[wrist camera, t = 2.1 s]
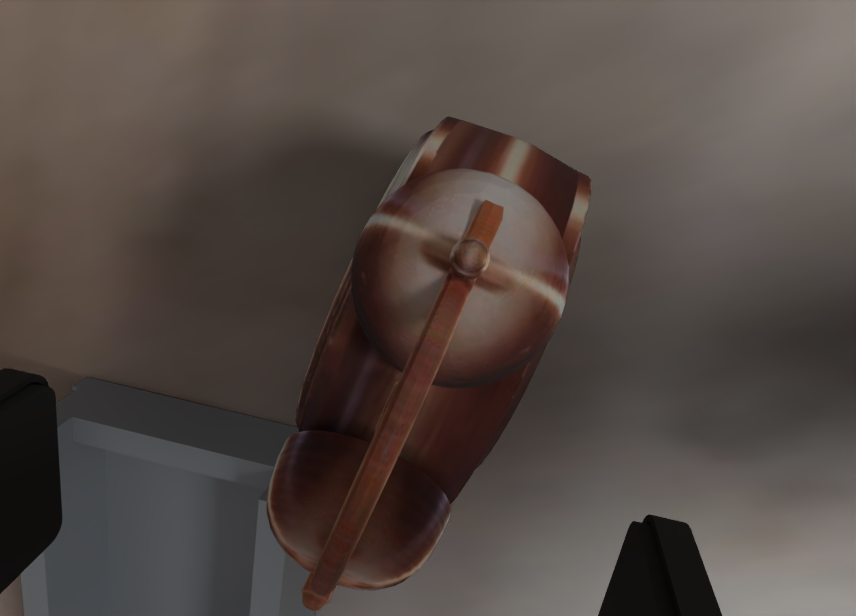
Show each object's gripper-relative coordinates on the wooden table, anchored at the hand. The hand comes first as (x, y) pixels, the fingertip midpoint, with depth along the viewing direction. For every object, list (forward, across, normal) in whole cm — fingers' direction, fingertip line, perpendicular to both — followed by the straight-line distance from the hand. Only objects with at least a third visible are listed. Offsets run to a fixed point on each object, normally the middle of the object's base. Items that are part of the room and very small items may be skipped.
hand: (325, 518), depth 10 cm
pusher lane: (+16, +9, +24) cm, 30 cm away
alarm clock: (+16, -1, 0) cm, 16 cm away
